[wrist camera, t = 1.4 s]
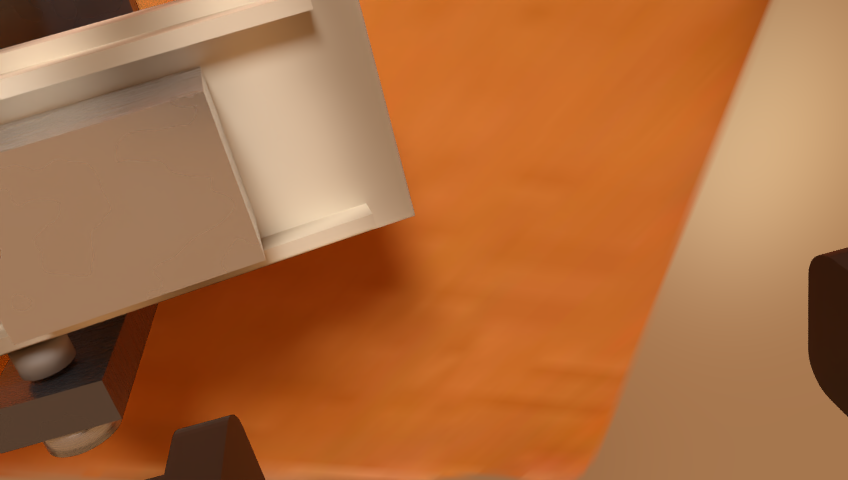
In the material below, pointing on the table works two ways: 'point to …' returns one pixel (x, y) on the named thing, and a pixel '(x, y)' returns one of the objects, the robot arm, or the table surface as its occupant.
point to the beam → (237, 118)
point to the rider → (117, 204)
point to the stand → (96, 344)
